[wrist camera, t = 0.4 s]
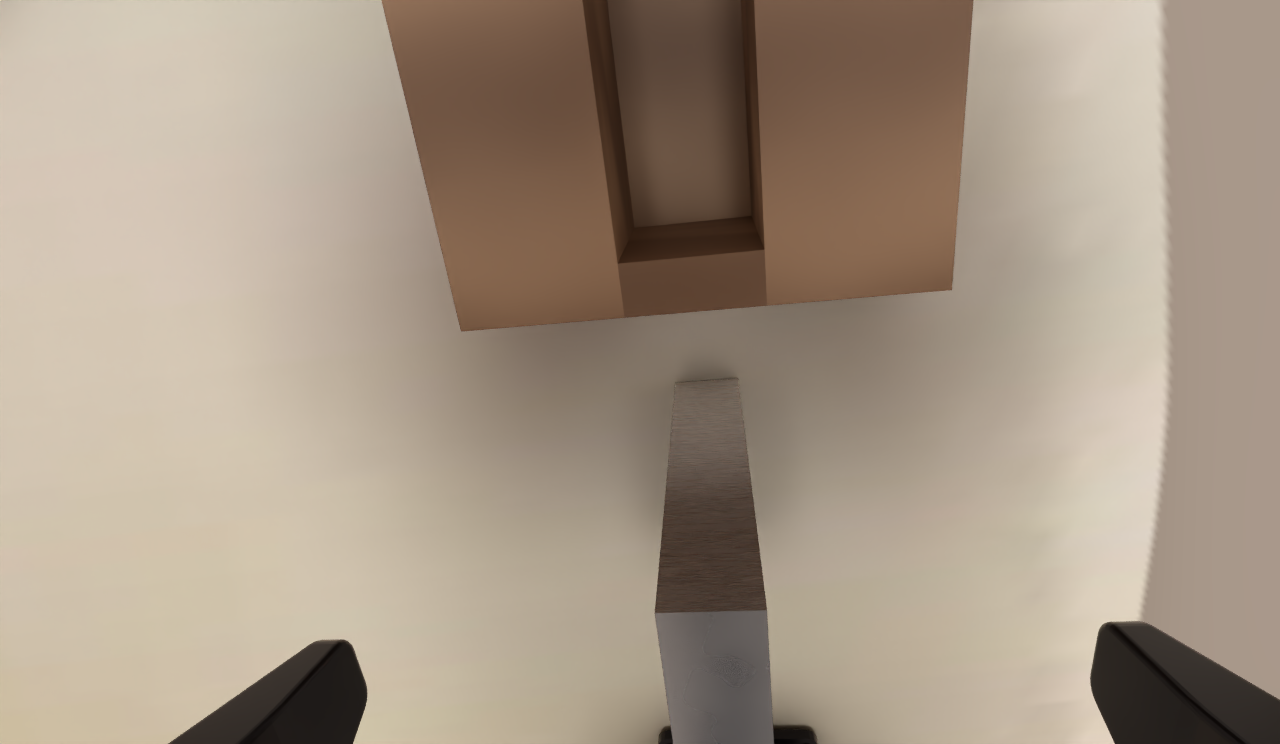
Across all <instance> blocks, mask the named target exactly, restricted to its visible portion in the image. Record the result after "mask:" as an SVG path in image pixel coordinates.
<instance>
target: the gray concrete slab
mask: <svg viewBox="0 0 1280 744" xmlns="http://www.w3.org/2000/svg"><path fill="white" fill-rule="evenodd" d="M655 618H656V625H657V632H658V639H659V646H660V653H661V660H662V668H663V675H664V682H665V689H666V696H667V703H668V710H669V717H670V724H671V732H672V739H673V744H774V737H773V717H772V698H771V679H770V660H769V641H768V621H767V607H766V599H765V591H764V583H763V575H762V567H761V559H760V551H759V542H758V534H757V526H756V518H755V510H754V502H753V494H752V486H751V478H750V470H749V462H748V454H747V446H746V438H745V430H744V422H743V414H742V405H741V397H740V389H739V381H738V378H735V379H720V380H706V381H692V382H678V383H675V393H674V404H673V416H672V427H671V438H670V449H669V460H668V472H667V483H666V494H665V505H664V516H663V528H662V539H661V550H660V561H659V572H658V584H657V595H656V606H655Z"/></svg>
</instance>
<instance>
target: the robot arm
mask: <svg viewBox="0 0 1280 744" xmlns="http://www.w3.org/2000/svg"><path fill="white" fill-rule="evenodd" d="M1090 681H1091V689H1092V693H1093V696H1094V699H1095V701H1096V704H1097V706H1098V708H1099V710H1100V712H1101V715H1102V717H1103V719H1104V721H1105V723H1106V725H1107V728H1108V730H1109V732H1110V734H1111V736H1112V738H1113V741H1114V743H1115V744H1280V700H1279V699H1277V698H1276V697H1274V696H1272V695H1271V694H1269V693H1267V692H1265V691H1264V690H1262V689H1260V688H1258V687H1257V686H1255V685H1253V684H1252V683H1250V682H1248V681H1246V680H1245V679H1243V678H1241V677H1240V676H1238V675H1236V674H1234V673H1233V672H1231V671H1229V670H1227V669H1226V668H1224V667H1223V666H1221V665H1219V664H1217V663H1216V662H1214V661H1212V660H1211V659H1209V658H1207V657H1205V656H1204V655H1202V654H1200V653H1199V652H1197V651H1195V650H1193V649H1192V648H1190V647H1188V646H1186V645H1185V644H1183V643H1181V642H1180V641H1178V640H1176V639H1175V638H1173V637H1171V636H1169V635H1168V634H1166V633H1164V632H1163V631H1161V630H1159V629H1157V628H1156V627H1154V626H1152V625H1150V624H1148V623H1145V622H1140V621H1126V622H1107V623H1104V624H1103V625H1102V626H1101V627H1100V629H1099V632H1098V636H1097V642H1096V647H1095V653H1094V658H1093V664H1092V669H1091V676H1090ZM366 702H367V686H366V682H365V679H364V677H363V674H362V671H361V668H360V665H359V663H358V660H357V657H356V654H355V651H354V648H353V646H352V645H351V644H350V643H349V642H348V641H346V640H319V641H315V642H313V643H312V644H310V645H308V646H307V647H306V648H304V649H303V650H301V651H300V652H298V653H297V654H296V655H294V656H293V657H291V658H290V659H288V660H287V661H286V662H284V663H283V664H281V665H280V666H278V667H277V668H276V669H274V670H273V671H271V672H270V673H268V674H267V675H266V676H264V677H263V678H261V679H260V680H258V681H257V682H256V683H254V684H253V685H251V686H250V687H249V688H247V689H246V690H244V691H243V692H241V693H240V694H239V695H237V696H236V697H234V698H233V699H231V700H230V701H228V702H227V703H226V704H224V705H223V706H221V707H220V708H218V709H217V710H216V711H214V712H213V713H211V714H210V715H208V716H207V717H206V718H204V719H203V720H201V721H200V722H198V723H197V724H196V725H194V726H193V727H191V728H190V729H188V730H187V731H186V732H184V733H183V734H181V735H180V736H178V737H177V738H176V739H174V740H173V741H171V742H170V743H168V744H353V742H354V739H355V736H356V733H357V730H358V727H359V724H360V721H361V719H362V716H363V713H364V710H365V706H366ZM773 737H774V744H818V742H817V737H816V735H815V734H814V733H813V732H812V731H809V730H773ZM658 744H673V739H672V732H671V730H667V731H664V732H662V733H661V734H660V735H659V743H658Z"/></svg>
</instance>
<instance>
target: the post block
mask: <svg viewBox="0 0 1280 744" xmlns="http://www.w3.org/2000/svg"><path fill="white" fill-rule="evenodd" d="M382 4H383V8H384V12H385V16H386V21H387V25H388V29H389V33H390V37H391V41H392V46H393V50H394V54H395V58H396V62H397V66H398V70H399V75H400V79H401V83H402V87H403V91H404V95H405V100H406V104H407V108H408V112H409V116H410V120H411V125H412V129H413V133H414V137H415V141H416V145H417V150H418V154H419V158H420V162H421V166H422V170H423V175H424V179H425V183H426V187H427V191H428V195H429V200H430V204H431V208H432V212H433V216H434V220H435V225H436V229H437V233H438V237H439V241H440V245H441V250H442V254H443V258H444V262H445V266H446V270H447V275H448V279H449V283H450V287H451V291H452V295H453V300H454V304H455V308H456V312H457V316H458V320H459V325H460V329H461V331H472V330H484V329H496V328H508V327H519V326H531V325H543V324H555V323H567V322H578V321H590V320H602V319H614V318H626V317H637V316H649V315H661V314H673V313H685V312H697V311H708V310H720V309H732V308H744V307H756V306H767V305H779V304H791V303H803V302H815V301H826V300H838V299H850V298H862V297H874V296H885V295H897V294H909V293H921V292H933V291H945V290H952V280H953V266H954V253H955V239H956V226H957V213H958V199H959V186H960V172H961V159H962V146H963V132H964V119H965V105H966V92H967V78H968V65H969V52H970V38H971V25H972V11H973V0H382Z"/></svg>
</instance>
